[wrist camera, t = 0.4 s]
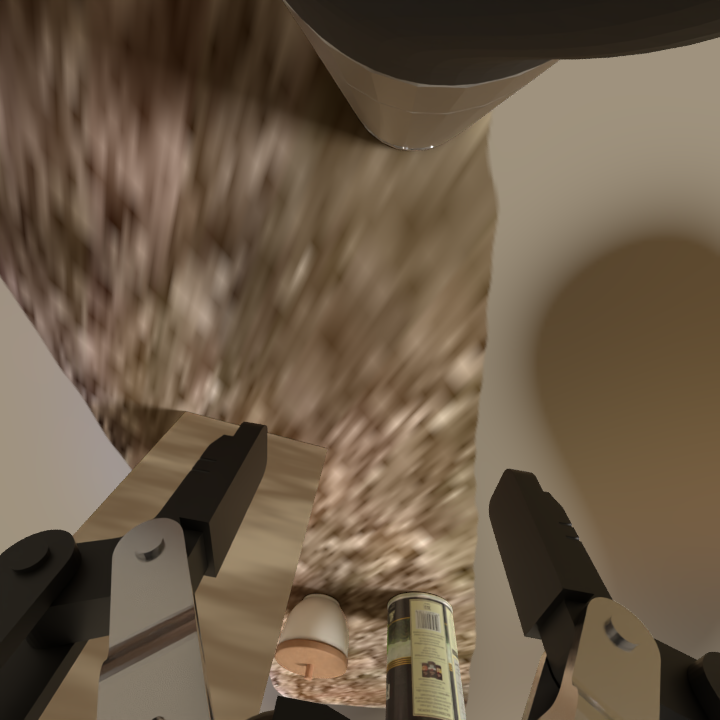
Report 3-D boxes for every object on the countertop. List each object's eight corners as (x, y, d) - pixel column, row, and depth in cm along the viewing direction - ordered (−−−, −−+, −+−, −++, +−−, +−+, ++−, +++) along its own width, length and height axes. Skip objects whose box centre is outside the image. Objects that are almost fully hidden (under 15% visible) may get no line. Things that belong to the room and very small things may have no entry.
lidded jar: (342, 584, 50) (331, 663, 42) (361, 618, 54) (354, 695, 46) (279, 587, 52) (258, 662, 44) (303, 618, 57) (287, 692, 49)
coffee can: (397, 624, 54) (397, 754, 42) (379, 593, 50) (373, 727, 38) (458, 622, 52) (477, 759, 40) (445, 589, 47) (462, 732, 35)
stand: (185, 411, 35) (-628, 1305, 7) (327, 448, 35) (78, 1408, 8) (188, 491, 42) (-219, 1101, 14) (307, 521, 42) (137, 1163, 15)
